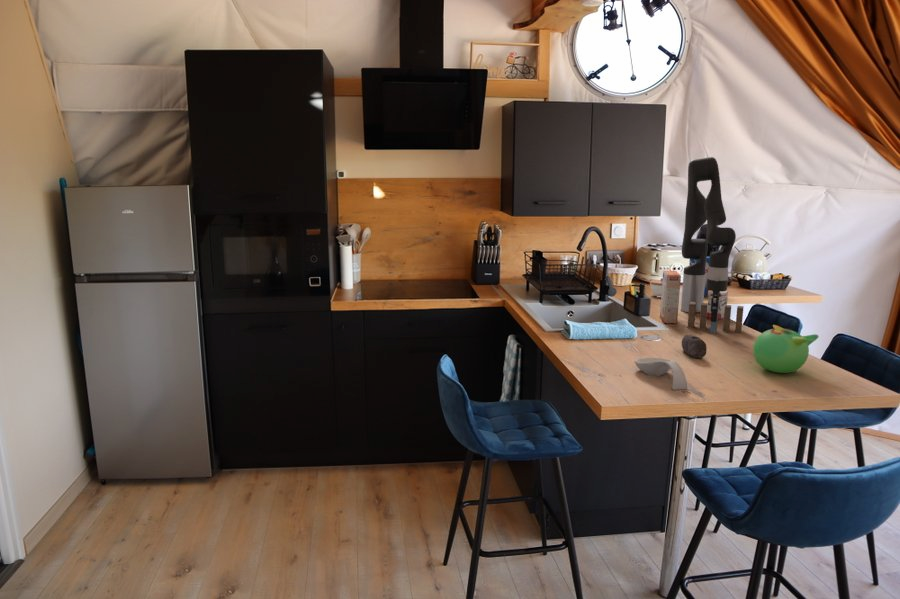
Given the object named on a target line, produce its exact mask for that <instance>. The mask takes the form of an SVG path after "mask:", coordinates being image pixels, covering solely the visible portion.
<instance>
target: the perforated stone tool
mask: <svg viewBox="0 0 900 599" xmlns="http://www.w3.org/2000/svg"><path fill="white" fill-rule="evenodd" d="M681 348H682V350H683V351H684V352H685V354H687V355H688V356H690V357H691V356H692V358H695V359H697V358H700V359H701V358H704V357H705V356H706V354H707V348H708V347H707V344H706V342H705V341H704V340H703V339H702V338H700V337H698V336H696V335H692V334H685V335H684V336H683V337H682V340H681Z"/></svg>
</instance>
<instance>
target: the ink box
mask: <svg viewBox="0 0 900 599" xmlns="http://www.w3.org/2000/svg"><path fill="white" fill-rule="evenodd" d="M711 294H713V291H708V297H707V298H708V299H707V303H708V308H707V320H708V319H709V320H711V311H710V310H711V306H710V302H711V299H710V296H711ZM720 294H721V295H722V297H721V303H720V307H719V310H718V319H717V321H719V320H721V319H724V318H723V317H724V311H725V305H728V297H729V291H727V290H726V291H720Z"/></svg>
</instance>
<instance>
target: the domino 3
mask: <svg viewBox="0 0 900 599" xmlns="http://www.w3.org/2000/svg"><path fill="white" fill-rule="evenodd" d="M713 309H716V307H713ZM717 319H718V313H717ZM717 329H718V320H717V321H716V322H711V321H710V325H709V334H713V333H716V334H717V331H718V330H717Z"/></svg>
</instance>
